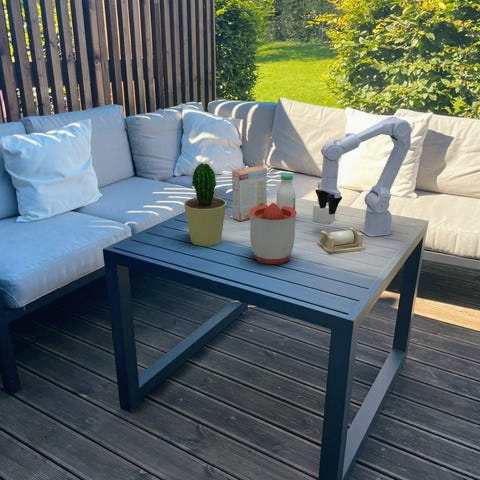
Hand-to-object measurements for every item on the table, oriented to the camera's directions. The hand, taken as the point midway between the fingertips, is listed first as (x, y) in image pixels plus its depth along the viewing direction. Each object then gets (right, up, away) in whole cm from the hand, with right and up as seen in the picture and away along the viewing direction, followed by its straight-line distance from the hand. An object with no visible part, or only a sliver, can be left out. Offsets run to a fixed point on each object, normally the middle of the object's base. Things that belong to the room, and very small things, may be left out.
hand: (327, 210), depth 191 cm
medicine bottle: (+2, -3, +20) cm, 20 cm away
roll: (+3, -12, -7) cm, 15 cm away
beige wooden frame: (+4, -14, -7) cm, 16 cm away
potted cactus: (-46, -11, -1) cm, 47 cm away
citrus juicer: (-22, -17, -15) cm, 32 cm away
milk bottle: (-14, -4, +18) cm, 23 cm away
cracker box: (-29, -2, +24) cm, 37 cm away
